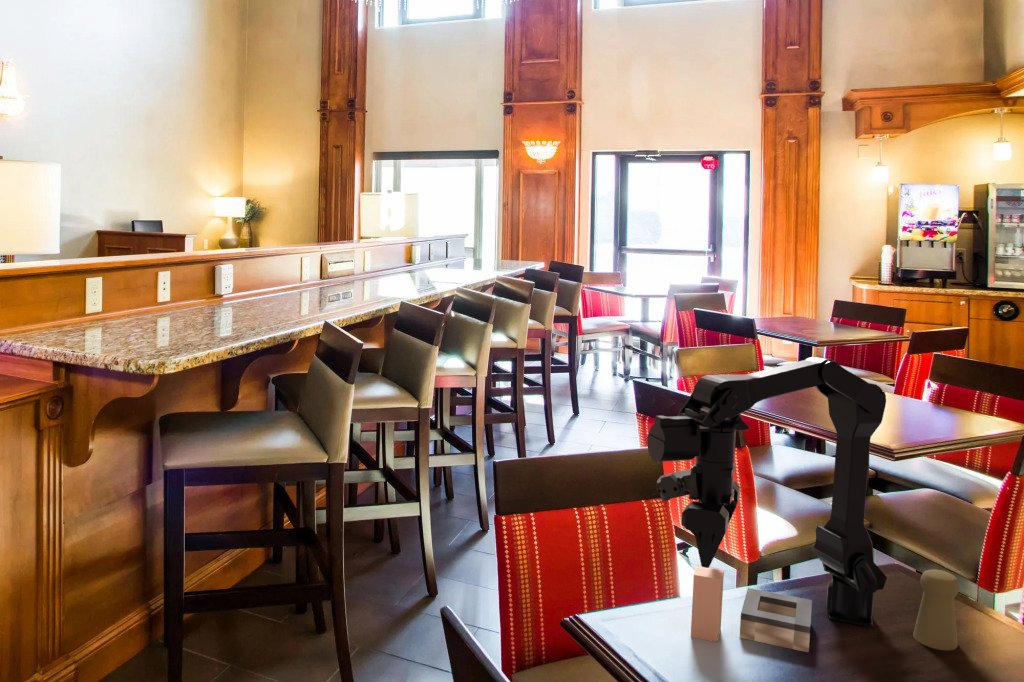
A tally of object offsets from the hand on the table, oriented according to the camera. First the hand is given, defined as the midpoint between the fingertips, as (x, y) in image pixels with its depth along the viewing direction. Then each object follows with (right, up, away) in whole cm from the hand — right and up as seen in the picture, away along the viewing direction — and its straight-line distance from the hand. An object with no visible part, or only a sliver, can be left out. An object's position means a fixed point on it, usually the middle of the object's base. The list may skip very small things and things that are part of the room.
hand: (710, 556), depth 112 cm
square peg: (0, -13, +1) cm, 13 cm away
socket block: (+11, -13, +3) cm, 17 cm away
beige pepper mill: (+36, -14, +1) cm, 38 cm away
